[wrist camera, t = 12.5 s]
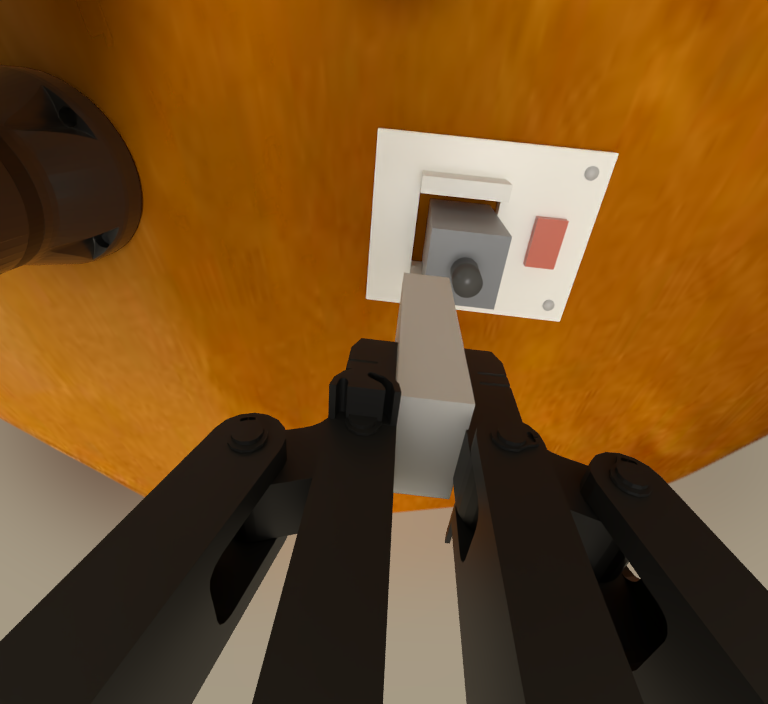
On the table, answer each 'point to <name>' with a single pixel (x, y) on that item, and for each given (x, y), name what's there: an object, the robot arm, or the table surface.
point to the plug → (466, 250)
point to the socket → (514, 208)
